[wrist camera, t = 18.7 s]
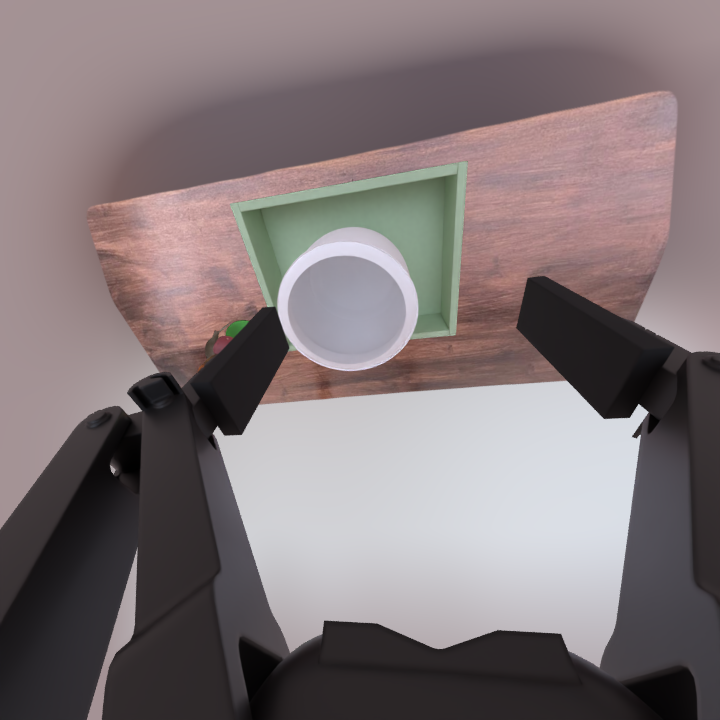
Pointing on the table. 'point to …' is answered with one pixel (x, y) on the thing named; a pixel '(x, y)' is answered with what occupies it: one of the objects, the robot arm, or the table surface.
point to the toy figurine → (222, 340)
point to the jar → (348, 300)
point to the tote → (375, 212)
